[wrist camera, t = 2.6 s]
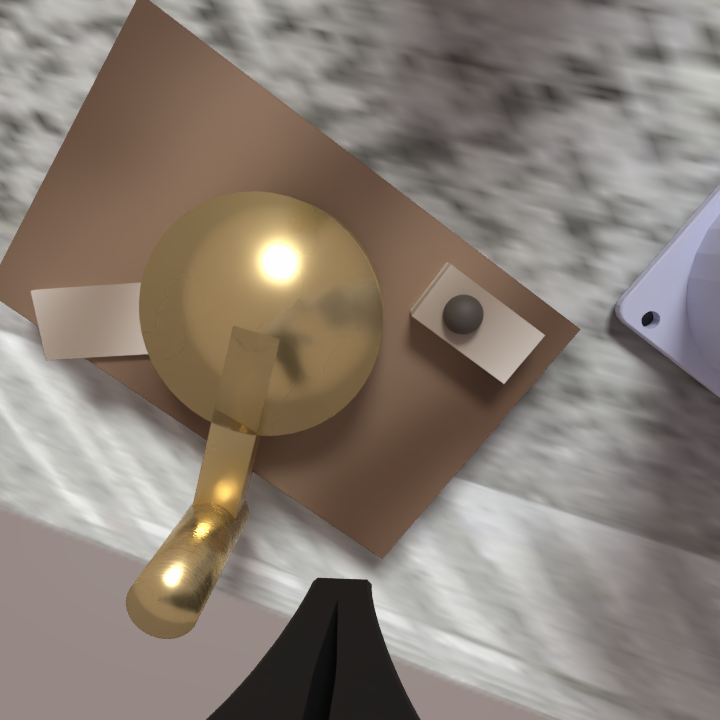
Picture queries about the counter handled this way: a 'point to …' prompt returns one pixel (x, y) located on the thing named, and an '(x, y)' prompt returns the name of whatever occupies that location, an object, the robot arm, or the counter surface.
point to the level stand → (308, 184)
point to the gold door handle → (247, 363)
